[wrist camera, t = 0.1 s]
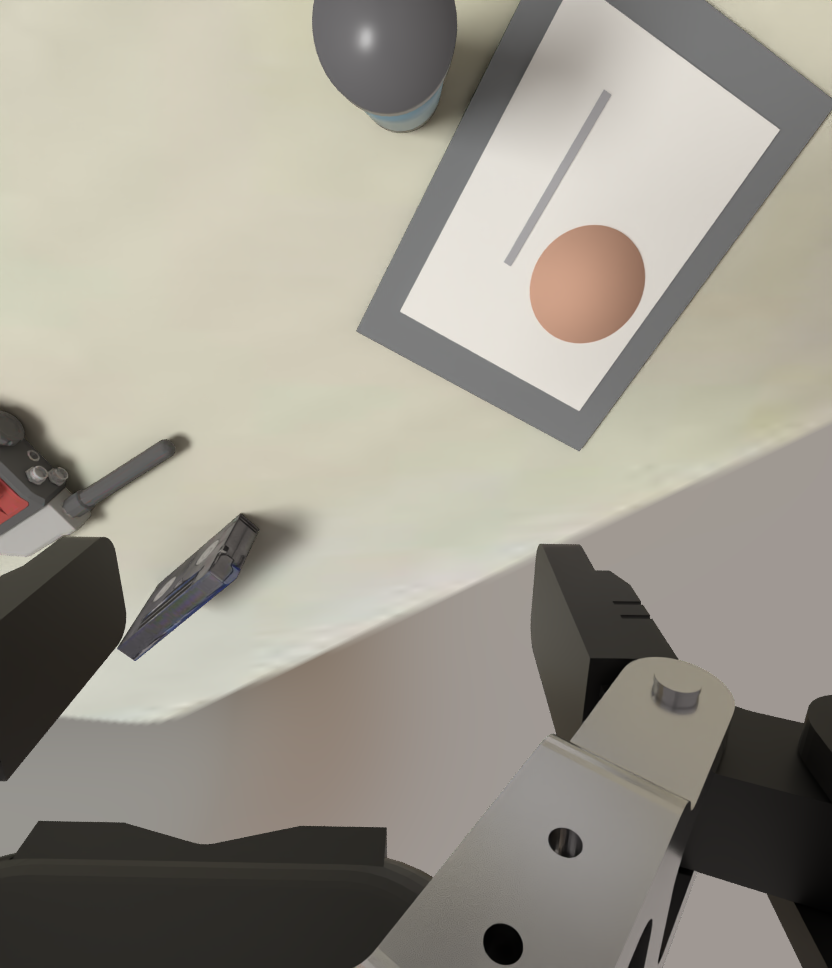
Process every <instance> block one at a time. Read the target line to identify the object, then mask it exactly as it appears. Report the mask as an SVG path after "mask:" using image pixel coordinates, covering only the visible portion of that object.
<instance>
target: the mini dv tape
mask: <svg viewBox="0 0 832 968" xmlns="http://www.w3.org/2000/svg"><path fill="white" fill-rule="evenodd" d="M258 531H259V529H258V528H257V527H256V526H255V525H253V524H252V523H251V522H250V521H249V520H248V519H246V518H245V517H244V516H243V515H242V514H241V513H240V514H239V515H238V516H237V517H236V518H235V519H233V520H232V521H231V522H230V523H229V524H228V525H227V526H225V527H224V528H223V529H222V530H221V531H220V532H218V533H217V534H216V535H215V536H214V537H213V538H211V539H210V540H209V541H208V542H207V543H206V544H205V545H203V546H202V547H201V548H200V549H199V550H198V551H196V552H195V553H194V554H193V555H192V556H191V557H190V558H188V559H187V560H186V561H185V562H184V563H183V564H181V565H180V566H179V567H178V568H177V569H176V570H174V571H173V572H172V573H171V574H170V575H169V576H168V577H166V578H165V579H164V580H163V581H162V582H161V583H159V584H158V585H157V587H156V589H155V590H154V592H153V593H152V595H151V596H150V598H149V599H148V601H147V603H146V604H145V606H144V607H143V609H142V610H141V612H140V613H139V615H138V617H137V618H136V620H135V621H134V623H133V624H132V626H131V627H130V629H129V631H128V632H127V634H126V635H125V637H124V638H123V640H122V641H121V643H120V645H119V646H118V648H117V649H118V650H120V651H121V652H123V653H124V654H126V655H127V656H128V657H130V658H131V659H133V660H134V661H136V660H137V659H139V658H140V657H141V656H142V655H143V654H145V653H146V652H147V651H148V650H150V649H151V648H152V647H153V646H154V645H156V644H157V643H158V642H159V641H161V640H162V639H163V638H164V637H165V636H167V635H168V634H169V633H170V632H172V631H173V630H174V629H175V628H176V627H178V626H179V625H180V624H181V623H183V622H184V621H185V620H186V619H187V618H189V617H190V616H191V615H192V614H194V613H195V612H196V611H197V610H199V609H200V608H201V607H202V606H203V605H205V604H206V603H207V602H208V601H210V600H211V599H212V598H213V597H214V596H216V595H217V594H218V593H219V592H221V591H222V590H223V589H224V588H225V587H227V586H228V585H229V584H230V583H231V582H233V581H234V580H235V579H236V578H237V576H238V574H239V572H240V570H241V568H242V566H243V564H244V561H245V559H246V557H247V555H248V553H249V551H250V548H251V546H252V544H253V542H254V540H255V538H256V536H257V533H258Z"/></svg>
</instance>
